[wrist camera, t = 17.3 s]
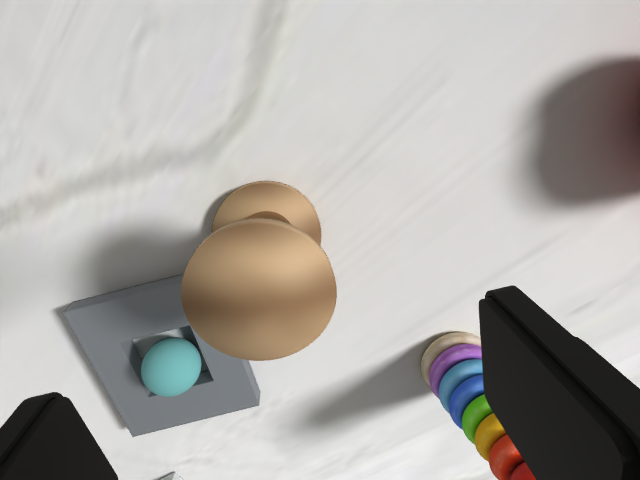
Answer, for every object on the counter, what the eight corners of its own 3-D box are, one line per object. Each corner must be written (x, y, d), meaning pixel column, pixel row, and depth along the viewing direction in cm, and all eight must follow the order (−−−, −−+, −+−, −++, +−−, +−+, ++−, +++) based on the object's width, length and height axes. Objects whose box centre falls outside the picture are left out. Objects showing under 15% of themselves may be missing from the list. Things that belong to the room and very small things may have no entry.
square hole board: (73, 301, 37) (62, 312, 35) (213, 266, 37) (209, 275, 35) (139, 422, 43) (132, 436, 41) (260, 391, 43) (259, 405, 41)
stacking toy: (424, 393, 45) (512, 581, 28) (412, 339, 42) (503, 510, 25) (489, 375, 45) (618, 553, 28) (482, 320, 42) (621, 479, 25)
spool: (198, 195, 35) (156, 246, 23) (306, 169, 35) (317, 206, 23) (232, 290, 38) (211, 375, 27) (330, 266, 38) (350, 340, 27)
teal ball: (135, 339, 39) (127, 373, 34) (190, 319, 40) (189, 349, 35) (156, 380, 41) (151, 418, 36) (208, 361, 42) (209, 395, 37)
